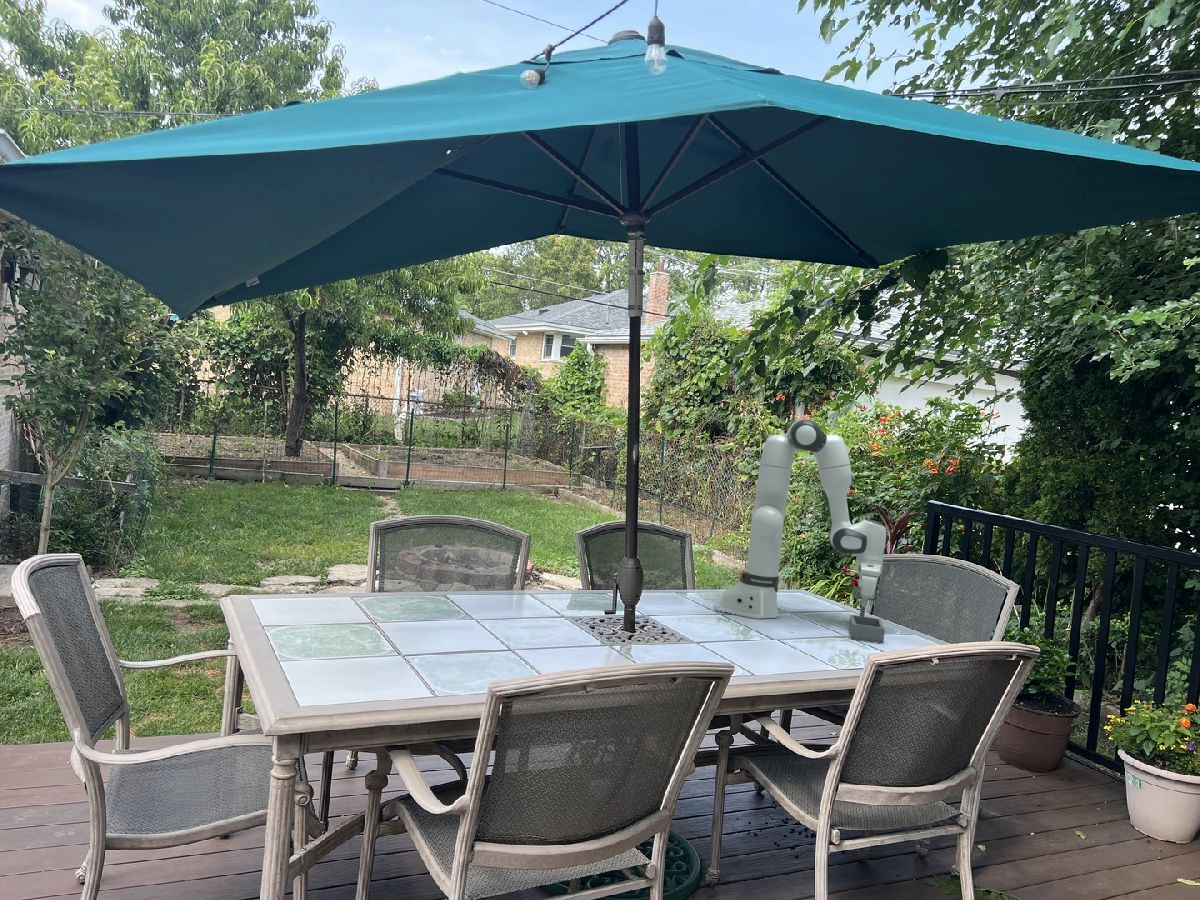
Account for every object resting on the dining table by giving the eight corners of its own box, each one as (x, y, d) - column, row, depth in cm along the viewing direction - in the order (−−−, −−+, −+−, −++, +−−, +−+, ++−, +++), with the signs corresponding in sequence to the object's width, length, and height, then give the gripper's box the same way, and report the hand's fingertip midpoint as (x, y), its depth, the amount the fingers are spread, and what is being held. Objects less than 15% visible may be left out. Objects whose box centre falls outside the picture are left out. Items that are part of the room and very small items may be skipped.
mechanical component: (877, 620, 293) (881, 591, 292) (847, 615, 295) (851, 586, 294) (876, 618, 296) (880, 590, 295) (846, 613, 298) (850, 585, 297)
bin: (851, 639, 276) (852, 624, 276) (848, 629, 291) (850, 614, 291) (883, 644, 274) (884, 628, 274) (879, 633, 289) (880, 619, 288)
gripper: (857, 561, 305) (852, 598, 306) (861, 569, 285) (855, 610, 286) (875, 563, 304) (870, 601, 304) (880, 572, 284) (874, 613, 285)
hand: (863, 605), depth 295 cm, fingers closed on mechanical component, 3 cm apart
